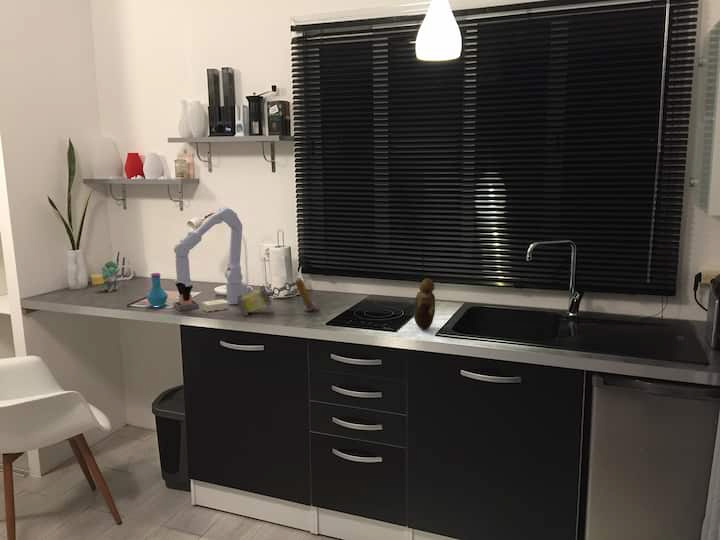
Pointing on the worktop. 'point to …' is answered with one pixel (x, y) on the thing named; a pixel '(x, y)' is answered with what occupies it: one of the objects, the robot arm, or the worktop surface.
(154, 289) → the perfume bottle
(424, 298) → the sculpture
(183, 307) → the tray
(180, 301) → the stub
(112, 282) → the toy
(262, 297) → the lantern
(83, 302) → the worktop surface
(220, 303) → the block
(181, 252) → the robot arm
